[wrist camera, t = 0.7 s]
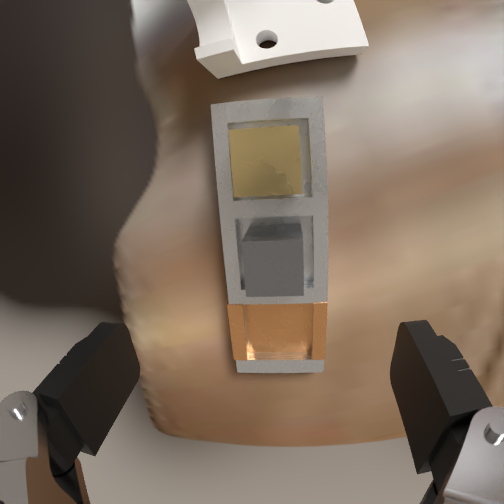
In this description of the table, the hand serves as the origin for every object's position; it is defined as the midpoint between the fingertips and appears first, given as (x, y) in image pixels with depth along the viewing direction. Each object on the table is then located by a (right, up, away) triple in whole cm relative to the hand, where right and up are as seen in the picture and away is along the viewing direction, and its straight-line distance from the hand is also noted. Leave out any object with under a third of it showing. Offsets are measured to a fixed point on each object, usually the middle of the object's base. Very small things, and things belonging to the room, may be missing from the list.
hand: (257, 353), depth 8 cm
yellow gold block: (+1, +11, +17) cm, 20 cm away
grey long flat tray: (+2, +3, +21) cm, 21 cm away
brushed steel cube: (+2, +3, +20) cm, 20 cm away
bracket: (+3, +23, +15) cm, 27 cm away
